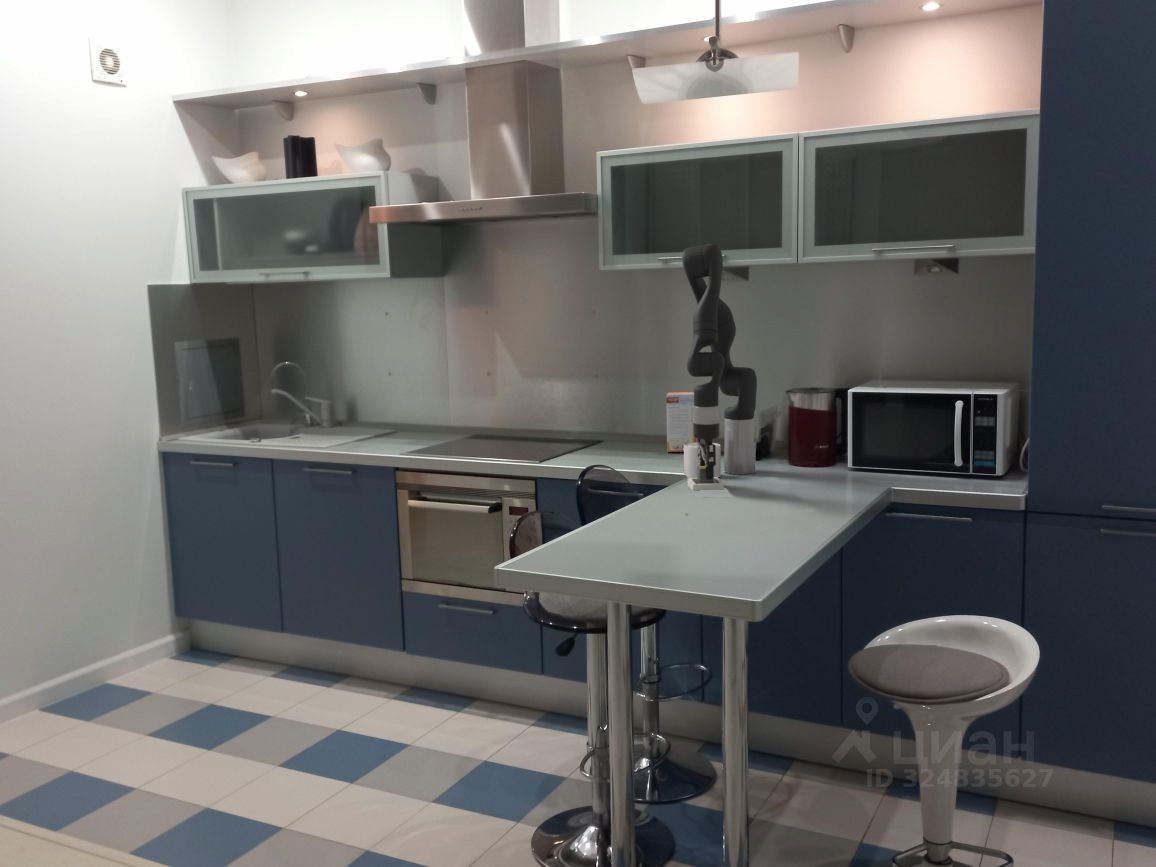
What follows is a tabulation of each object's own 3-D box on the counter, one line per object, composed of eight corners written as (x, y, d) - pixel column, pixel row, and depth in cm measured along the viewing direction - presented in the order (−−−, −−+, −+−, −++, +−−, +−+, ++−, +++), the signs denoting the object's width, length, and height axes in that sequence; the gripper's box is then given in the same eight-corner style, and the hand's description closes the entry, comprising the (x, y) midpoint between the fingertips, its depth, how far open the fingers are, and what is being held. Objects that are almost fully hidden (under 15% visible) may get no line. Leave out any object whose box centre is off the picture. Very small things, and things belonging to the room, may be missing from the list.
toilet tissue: (718, 481, 314) (718, 448, 313) (679, 479, 317) (679, 447, 315) (722, 473, 324) (722, 442, 323) (684, 472, 327) (684, 441, 326)
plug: (710, 486, 303) (710, 463, 302) (713, 489, 299) (713, 466, 298) (697, 486, 302) (697, 464, 301) (699, 489, 299) (699, 467, 297)
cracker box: (707, 450, 364) (707, 391, 360) (707, 453, 358) (706, 393, 355) (668, 450, 366) (667, 391, 363) (666, 453, 361) (666, 393, 357)
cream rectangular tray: (722, 486, 306) (722, 476, 306) (735, 500, 288) (735, 489, 288) (685, 487, 306) (685, 478, 305) (696, 501, 288) (696, 491, 287)
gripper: (724, 424, 291) (724, 480, 293) (714, 416, 305) (714, 470, 307) (698, 425, 290) (698, 482, 293) (688, 417, 304) (689, 471, 307)
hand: (706, 476), depth 300 cm, fingers open, 8 cm apart
